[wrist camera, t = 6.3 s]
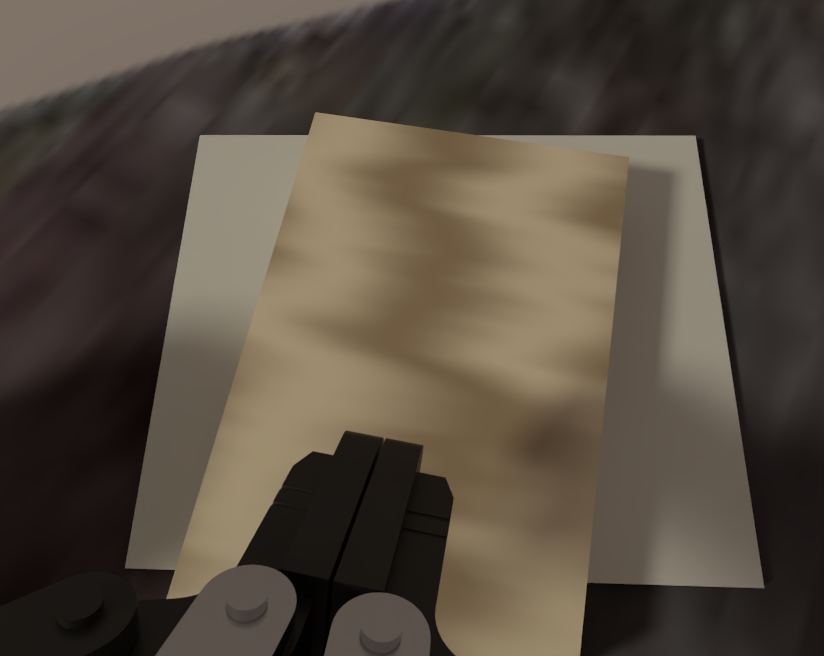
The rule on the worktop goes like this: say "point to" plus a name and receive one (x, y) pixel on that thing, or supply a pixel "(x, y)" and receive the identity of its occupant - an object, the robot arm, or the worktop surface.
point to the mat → (626, 382)
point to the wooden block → (437, 361)
